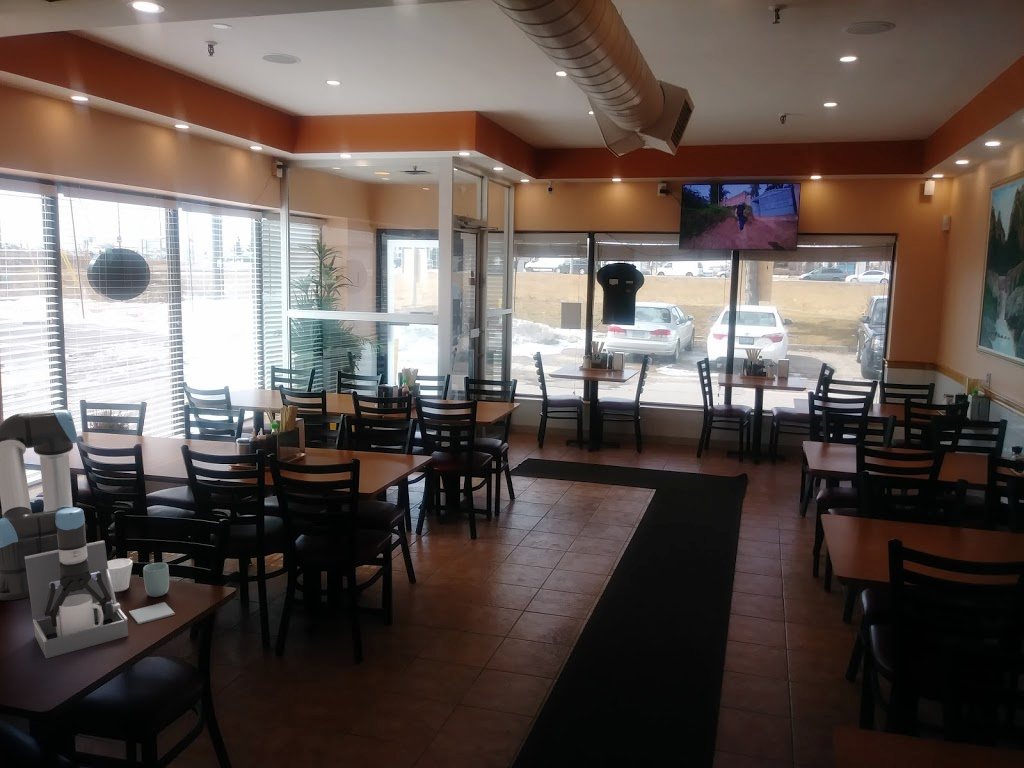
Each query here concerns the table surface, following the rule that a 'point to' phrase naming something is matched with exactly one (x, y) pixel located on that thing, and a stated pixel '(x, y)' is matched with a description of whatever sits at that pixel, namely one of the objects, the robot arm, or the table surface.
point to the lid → (48, 569)
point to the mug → (78, 614)
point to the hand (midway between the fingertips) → (80, 630)
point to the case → (85, 636)
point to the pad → (151, 613)
